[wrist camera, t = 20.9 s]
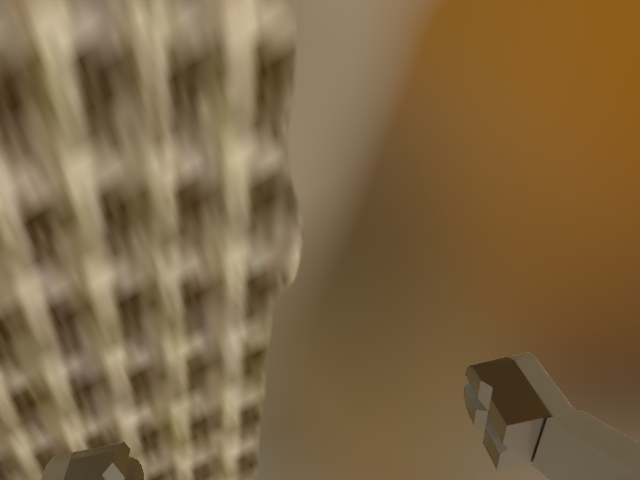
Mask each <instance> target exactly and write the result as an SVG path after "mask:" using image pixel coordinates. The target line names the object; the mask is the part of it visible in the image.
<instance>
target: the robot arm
mask: <svg viewBox="0 0 640 480" xmlns="http://www.w3.org/2000/svg"><path fill="white" fill-rule="evenodd" d="M466 377H467V379H468V381H469V382H468V383H467V384H466V386H465V387H464V400H465V405H466V409H467V411H468V414H469V416H470V418H471V420H472V423H473V425H474V426H476V427H477V428H479V429H480V430H481V431H483V432H484V438H483V445H484V446H485V448H486V450H487V452H488V454H489V456H490V458H491V460H492V462H493V464H494V466H495V468H496V470H500V469H505V468H510V467H515V466H519V465H524V464H529V463H532V465H533V466H534V467H535V468H536V469H537V470H539V471H540V472H542V474H544V475H545V476H546V477H547V478H549V479H550V480H640V443H638V442H637V441H635V440H633V439H631V438H630V437H628V436H626V435H624V434H623V433H621V432H619V431H617V430H615V429H614V428H612V427H610V426H609V425H607V424H605V423H604V422H602V421H600V420H598V419H596V418H595V417H593V416H591V415H590V414H588V413H586V412H584V411H582V410H580V411H575V410H574V408H573V407H572V406H571V404H570V403H569V402H568V400H567V399H566V398H565V396H564V395H563V394H562V392H561V391H560V390H559V388H558V387H557V386H556V384H555V383H554V382H553V380H552V379H551V378H550V376H549V375H548V374H547V372H546V371H545V370H544V368H543V367H542V366H541V364H540V363H539V362H538V360H537V359H536V358H535V356H534V355H532V354H531V353H523V354H519V355H515V356H510V357H504V358H499V359H495V360H491V361H486V362H482V363H478V364H474V365H470V366H468V367H467V369H466ZM129 454H130V448H129V447H128V446H127V444H126V443H125V442H121V443H116V444H111V445H107V446H102V447H97V448H92V449H88V450H83V451H76V452H72V453H67V454H63V455H58V456H54V457H52V459H51V460H50V461H49V463H48V464H47V465H46V468H45V470H44V473H43V476H42V479H41V480H144V472H143V469H142V466H141V464H140V462H139V461H138V460H137V459H135V458H132V457H129Z"/></svg>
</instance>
